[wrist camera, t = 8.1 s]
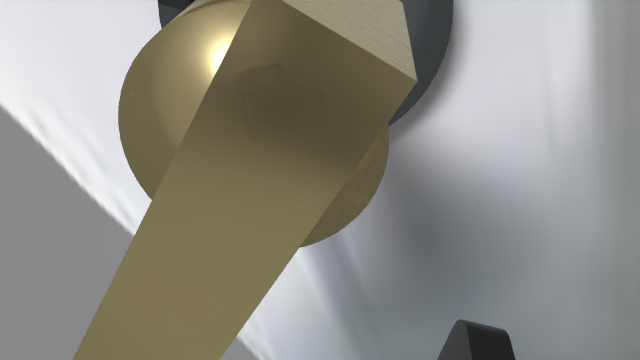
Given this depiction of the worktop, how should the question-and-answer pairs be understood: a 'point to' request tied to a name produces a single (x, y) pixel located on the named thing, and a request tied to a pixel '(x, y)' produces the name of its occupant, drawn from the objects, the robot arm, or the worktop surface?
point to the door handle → (245, 160)
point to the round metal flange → (423, 28)
